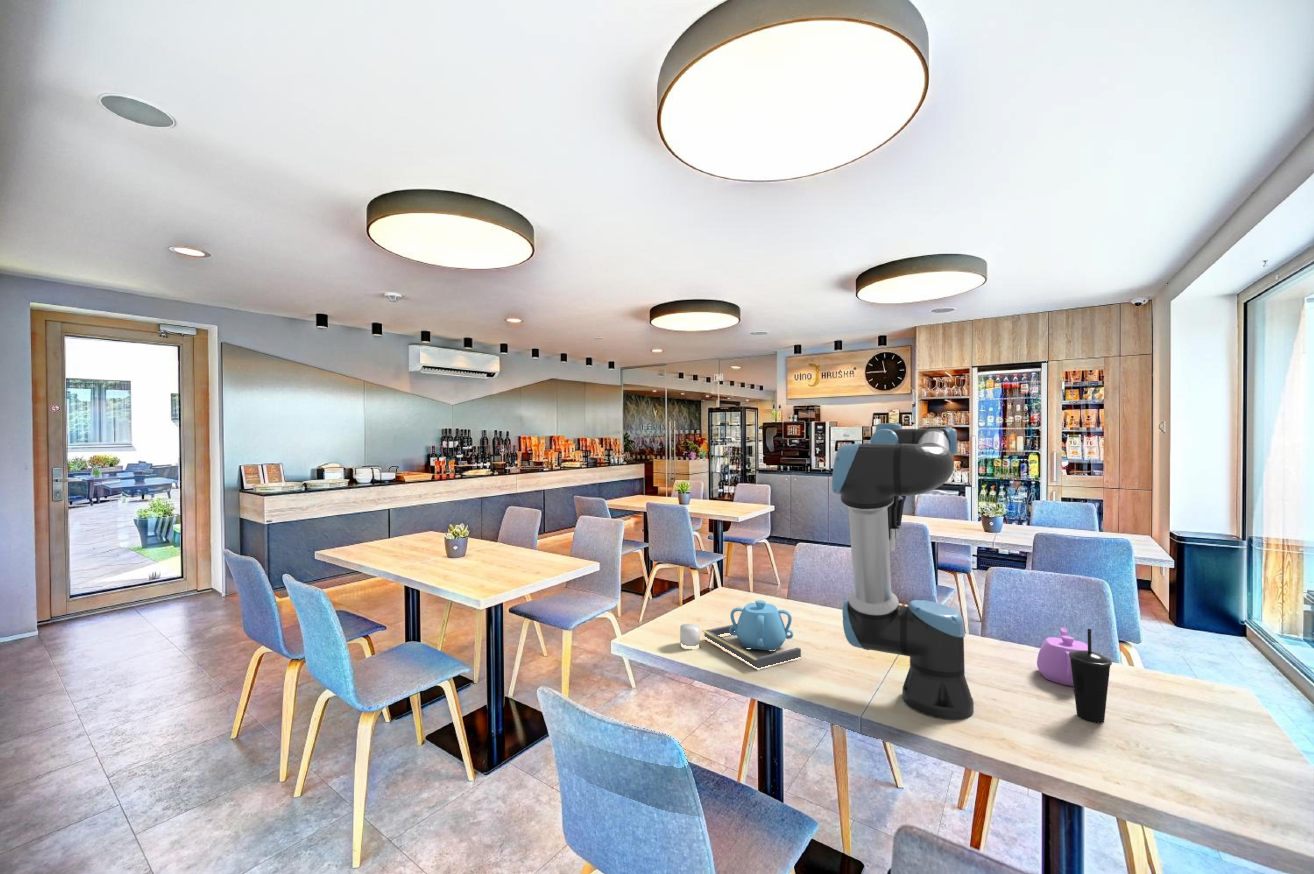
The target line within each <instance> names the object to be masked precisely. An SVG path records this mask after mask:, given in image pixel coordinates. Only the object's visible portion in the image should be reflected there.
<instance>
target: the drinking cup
mask: <svg viewBox="0 0 1314 874" xmlns="http://www.w3.org/2000/svg"><path fill="white" fill-rule="evenodd" d="M1086 631H1087V645H1088V651H1087V650H1079V651H1072V652H1069V657H1070V660H1071V669H1072V677H1073V686H1072V687H1073V693H1074V700H1075V709H1076V716H1077V717H1078V718H1079V719H1081V720H1084V721H1085V722H1089V723H1092V724H1103V723H1104V722H1105V718H1106V717H1105V716H1106V707H1107V700H1108V699H1107V698H1108V690H1109V681H1110V680H1109V679H1110V671H1111V666H1112V665H1113V661H1112V660H1111V659H1110V658H1108V657H1106V656H1104V655H1103V654H1101V653H1098V652H1096V651H1093V649H1092V629H1091V628H1087V630H1086Z"/></svg>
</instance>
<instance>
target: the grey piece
mask: <svg viewBox="0 0 1314 874" xmlns="http://www.w3.org/2000/svg"><path fill="white" fill-rule="evenodd" d="M736 625H737V623H736ZM731 626H733V624H731V625H730V624H729V625H725V626H720V627H716V628H711V629H710V628H709V629H706V630H705V629H702V630H701V631H702V632H703V635H704V636H705V637H707V638H708V639H710V640H712V641H713V642H715V643H717V644H719V645H720V646H722V647H724V648H725V649H727V650H729V651H731V652H732V653H734V654H736V655H737V656H739V657H741V658H742V659H744V660H745V661H747V662H749V663H750V664H752V665H753V666H755V667H757V668H761V667H765V666H768V665H773V664H776V663H780V662H784V661H788V660H791V659H795V658H798V657H801V658H802V653H801V652H802V650H801V648H800V647H794V648H790V649H785V650H782V651H779V652H774V653H771V654H766V655H763V656H756V655H754V654H753V653H751V652H749V650H748V651H747V649H743V648H742V647H740V646H739V645H736V644H735V643H732V642H731V641H729V640H727V639H726V638H722V637H720V636H718V635H720V634H724V633H730V632H729V629H730V627H731ZM732 631H733V632H734V631H735V629H732ZM704 636H703V637H704Z"/></svg>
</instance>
